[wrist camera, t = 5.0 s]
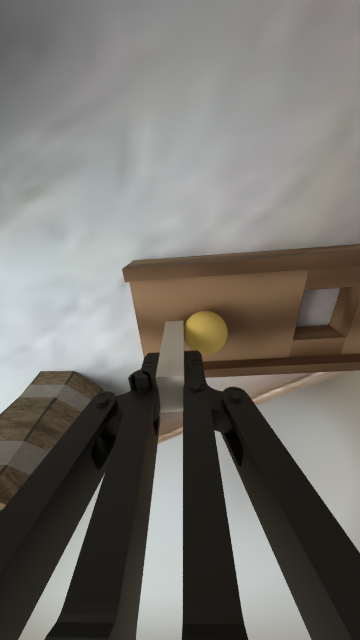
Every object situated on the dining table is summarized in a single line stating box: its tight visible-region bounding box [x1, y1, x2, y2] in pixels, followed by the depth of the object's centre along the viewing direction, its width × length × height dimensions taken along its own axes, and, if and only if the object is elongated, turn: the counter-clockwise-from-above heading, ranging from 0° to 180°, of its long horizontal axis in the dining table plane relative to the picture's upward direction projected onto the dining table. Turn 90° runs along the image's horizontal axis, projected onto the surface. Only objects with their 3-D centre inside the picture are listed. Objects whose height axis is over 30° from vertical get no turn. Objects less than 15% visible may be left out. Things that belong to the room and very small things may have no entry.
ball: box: [184, 311, 228, 354], centre depth 16 cm, size 4×4×4 cm
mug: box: [0, 371, 103, 512], centre depth 21 cm, size 16×11×12 cm
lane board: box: [122, 244, 360, 378], centre depth 18 cm, size 11×22×4 cm, turn 94°
